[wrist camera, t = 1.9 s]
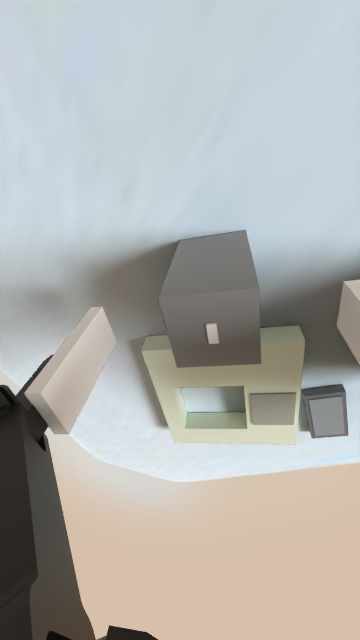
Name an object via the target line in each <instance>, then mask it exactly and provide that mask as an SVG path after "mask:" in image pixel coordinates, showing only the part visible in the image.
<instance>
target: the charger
mask: <svg viewBox="0 0 360 640" xmlns="http://www.w3.org/2000/svg"><path fill="white" fill-rule="evenodd" d="M158 301H159V305H160V308H161V312H162V316H163V319H164V323H165V326H166V330H167V334H168V337H169V341H170V344H171V348H172V352H173V355H174V359H175V363H176V366H177V368H185V367H207V366H229V365H250V364H261V335H260V302H259V285H258V281H257V277H256V272H255V268H254V264H253V259H252V255H251V251H250V247H249V242H248V238H247V234H246V230H243V231H236V232H230V233H223V234H216V235H210V236H203V237H196V238H190V239H183V240H180V241H179V244H178V247H177V249H176V252H175V254H174V257H173V260H172V262H171V265H170V267H169V270H168V273H167V275H166V278H165V280H164V283H163V286H162V288H161V291H160V294H159V296H158Z"/></svg>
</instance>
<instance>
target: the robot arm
mask: <svg viewBox="0 0 360 640" xmlns="http://www.w3.org/2000/svg"><path fill="white" fill-rule="evenodd" d="M337 328H338V330H339V331H340V333H341V335H342V336H343V338H344V340H345V341H346V343H347V345H348V346H349V348H350V350H351V351H352V353H353V355H354V356H355V358H356V360H357V361H358V363H359V365H360V280H351V281H344V282H343V288H342V295H341V301H340V308H339V314H338V320H337ZM116 342H117V341H116V339H115V336H114V334H113V331H112V329H111V326H110V324H109V321H108V319H107V317H106V314H105V312H104V309H103V307H102V306H99V307H91V308H90V309H89V310H88V312H87V313H86V314H85V316H84V317H83V318H82V319H81V321H80V322H79V323H78V325H77V326H76V327H75V328H74V330H73V331H72V332H71V334H70V335H69V336H68V337H67V339H66V340H65V341H64V343H63V344H62V345H61V346H60V348H59V349H58V350H57V352H56V353H55V354H54V355H51V356H50V357H48V358H47V359H46V360H45V361H43V363H42V364H41V365H40V366H39V368H38V369H37V371H35V373H34V374H33V375H32V377H31V378H30V379H29V380H28V381H27V383H26V384H25V385H24V386H23V388H22V389H21V390H20V391H19V393H18V394H17V395H16V396H15V395H14V394H13V393H12V391H11V390H10V389H9V387H8V386H6V385H0V640H96V639H95V635H94V631H93V628H92V625H91V622H90V620H89V618H88V616H87V614H86V612H85V610H84V608H83V605H82V602H81V598H80V594H79V589H78V584H77V580H76V574H75V570H74V565H73V560H72V555H71V550H70V546H69V540H68V536H67V531H66V526H65V521H64V516H63V511H62V506H61V502H60V497H59V492H58V487H57V483H56V477H55V473H54V468H53V463H52V458H51V453H50V449H49V444H48V439H47V437H46V435H45V434H44V432H45V431H46V429H47V427H48V426H49V428H50V429H51V430H52V431H53V433H54V434H69V433H70V431H71V429H72V427H73V425H74V423H75V421H76V419H77V418H78V416H79V414H80V412H81V410H82V408H83V406H84V404H85V402H86V400H87V398H88V396H89V394H90V393H91V391H92V389H93V387H94V385H95V383H96V381H97V379H98V377H99V375H100V373H101V371H102V369H103V367H104V366H105V364H106V362H107V360H108V358H109V356H110V354H111V352H112V350H113V348H114V346H115V344H116ZM98 640H158V639H156V638H155V637H153V636H152V635H150V634H149V633H147V632H142V631H137V630H131V629H126V628H120V627H114V626H109V628H108V632H107V636H104V637H102V638H100V639H98Z"/></svg>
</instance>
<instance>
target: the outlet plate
mask: <svg viewBox="0 0 360 640" xmlns="http://www.w3.org/2000/svg"><path fill="white" fill-rule="evenodd" d="M260 335H261V364H250V365H229V366H207V367H185V368H177V366H176V363H175V359H174V355H173V352H172V348H171V344H170V341H169V337H168V335H158V336H146V339H145V342H144V345H143V347H142V350H141V352H142V355H143V358H144V361H145V363H146V366H147V369H148V372H149V374H150V377H151V380H152V383H153V385H154V388H155V391H156V393H157V396H158V399H159V402H160V404H161V407H162V410H163V413H164V415H165V418H166V421H167V424H168V426H169V429H170V432H171V435H172V437H173V440H174V443H219V444H276V445H296V438H297V427H298V416H299V405H300V394H301V383H302V372H303V361H304V349H305V339H304V337H303V334H302V332H301V329H300V326H299V325H295V326H281V327H268V328H260ZM225 386H244V395H245V407H246V412H205V413H187V411H186V407H185V404H184V400H183V397H182V393H181V390H180V388H190V387H225Z"/></svg>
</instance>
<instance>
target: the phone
mask: <svg viewBox="0 0 360 640" xmlns="http://www.w3.org/2000/svg"><path fill="white" fill-rule="evenodd" d="M302 393H303V398H304V404H305V409H306V414H307V419H308V425H309V430H310V434H311V437H312V438H323V437H335V436H348V422H347V407H346V391H345V389H344V387H343V385H335V386H328V387H320V388H313V389H305V390H302Z"/></svg>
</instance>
